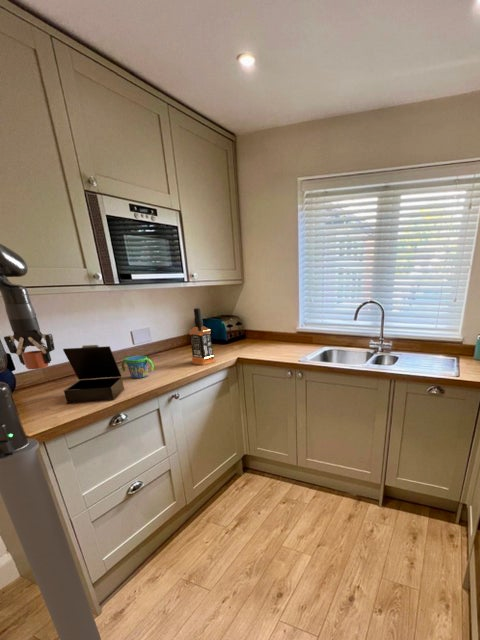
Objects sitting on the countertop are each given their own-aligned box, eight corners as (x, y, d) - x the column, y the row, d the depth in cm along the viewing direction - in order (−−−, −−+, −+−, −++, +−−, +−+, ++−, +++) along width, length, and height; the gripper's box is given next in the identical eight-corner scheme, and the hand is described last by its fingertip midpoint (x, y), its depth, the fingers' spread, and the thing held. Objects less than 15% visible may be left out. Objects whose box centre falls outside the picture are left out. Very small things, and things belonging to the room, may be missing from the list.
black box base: (113, 400, 141) (110, 387, 139) (67, 403, 137) (63, 390, 135) (124, 388, 155) (121, 377, 153) (82, 392, 151) (79, 379, 149)
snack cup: (159, 374, 178) (155, 355, 175) (148, 379, 168) (145, 360, 165) (131, 373, 179) (127, 355, 176) (119, 379, 169) (115, 360, 166)
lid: (109, 347, 141) (111, 340, 145) (62, 349, 137) (66, 342, 141) (121, 376, 153) (123, 369, 156) (78, 379, 149) (81, 372, 152)
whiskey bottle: (215, 361, 203) (209, 308, 192) (204, 365, 195) (197, 309, 184) (203, 359, 208) (196, 307, 197) (191, 363, 200) (183, 309, 188)
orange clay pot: (43, 368, 118) (38, 353, 116) (22, 370, 117) (17, 354, 115) (51, 364, 124) (47, 350, 122) (32, 365, 123) (27, 351, 121)
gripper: (-10, 319, 109) (7, 367, 115) (40, 317, 112) (54, 365, 118) (4, 316, 116) (19, 362, 122) (51, 314, 119) (64, 360, 125)
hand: (37, 363), depth 120 cm, fingers closed on orange clay pot, 6 cm apart
